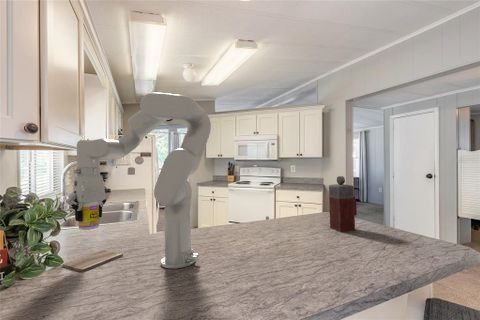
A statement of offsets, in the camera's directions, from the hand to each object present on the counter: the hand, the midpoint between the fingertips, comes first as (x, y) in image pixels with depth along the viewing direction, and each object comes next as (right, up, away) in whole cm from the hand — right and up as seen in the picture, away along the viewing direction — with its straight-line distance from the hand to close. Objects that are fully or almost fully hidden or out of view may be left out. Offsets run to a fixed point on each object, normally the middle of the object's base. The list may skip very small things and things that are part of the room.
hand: (89, 218), depth 94 cm
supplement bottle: (0, -4, 0) cm, 4 cm away
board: (+2, -16, 0) cm, 16 cm away
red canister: (+113, -14, +36) cm, 119 cm away
